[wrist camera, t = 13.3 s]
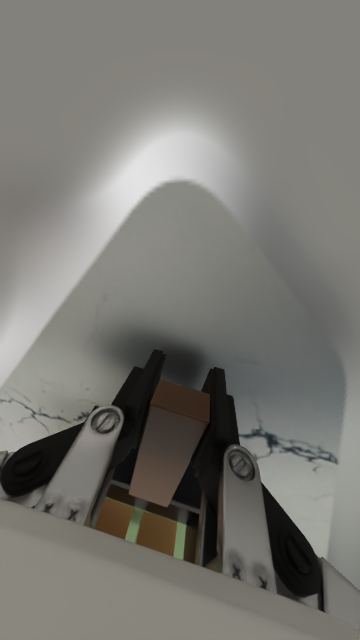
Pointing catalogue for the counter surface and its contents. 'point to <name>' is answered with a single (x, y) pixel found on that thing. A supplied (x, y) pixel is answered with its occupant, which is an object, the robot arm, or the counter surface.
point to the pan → (166, 460)
